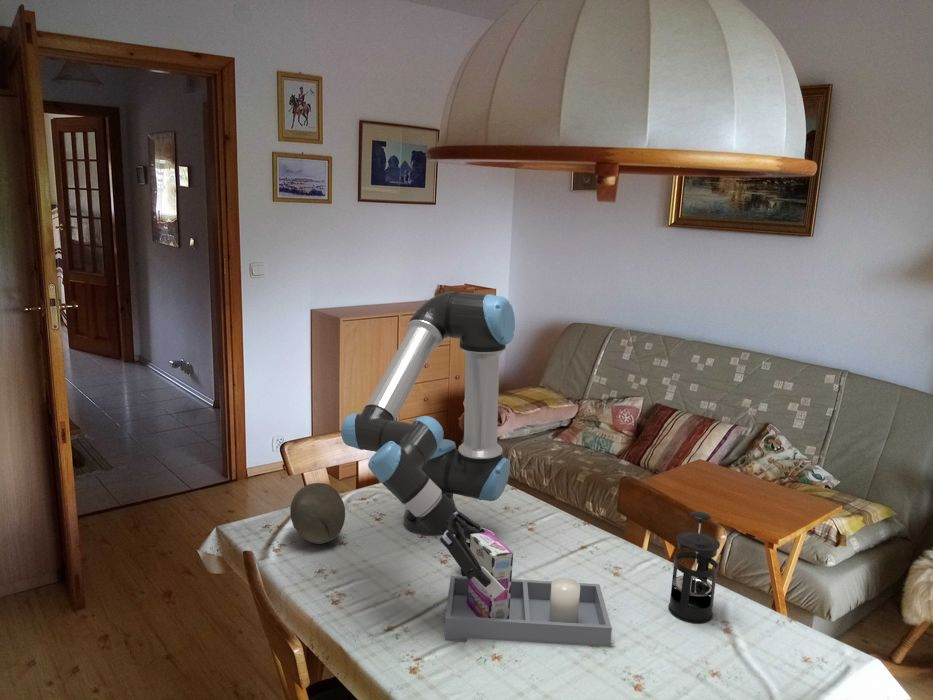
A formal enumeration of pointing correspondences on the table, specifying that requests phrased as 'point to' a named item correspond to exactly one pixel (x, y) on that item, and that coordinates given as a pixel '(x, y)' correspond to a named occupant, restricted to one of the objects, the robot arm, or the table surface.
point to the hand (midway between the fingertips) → (499, 576)
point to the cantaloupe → (317, 513)
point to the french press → (694, 575)
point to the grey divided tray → (529, 616)
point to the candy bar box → (500, 567)
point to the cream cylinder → (564, 600)
